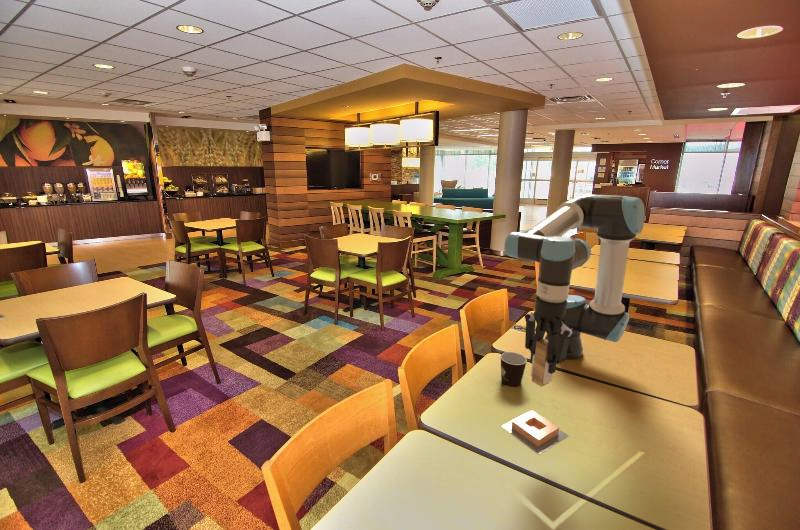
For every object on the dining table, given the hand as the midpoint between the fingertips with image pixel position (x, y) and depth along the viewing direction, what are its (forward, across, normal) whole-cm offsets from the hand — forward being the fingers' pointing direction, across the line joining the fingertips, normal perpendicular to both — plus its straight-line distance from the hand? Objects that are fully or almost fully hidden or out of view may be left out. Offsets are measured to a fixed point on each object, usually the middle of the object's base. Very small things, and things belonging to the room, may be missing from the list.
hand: (540, 378), depth 102 cm
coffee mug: (+18, -22, +15) cm, 32 cm away
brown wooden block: (+1, 0, 0) cm, 1 cm away
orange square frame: (+17, 0, 0) cm, 17 cm away
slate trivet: (+18, 0, 0) cm, 18 cm away
